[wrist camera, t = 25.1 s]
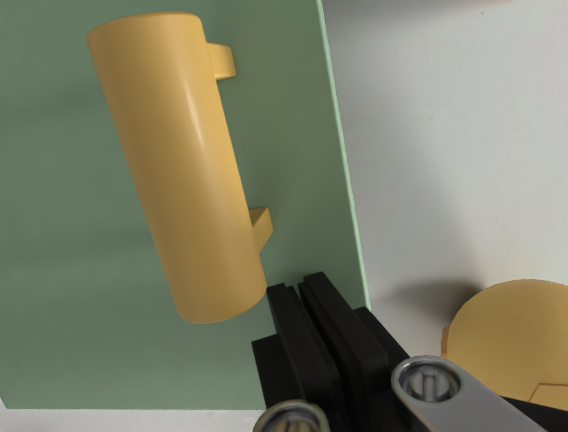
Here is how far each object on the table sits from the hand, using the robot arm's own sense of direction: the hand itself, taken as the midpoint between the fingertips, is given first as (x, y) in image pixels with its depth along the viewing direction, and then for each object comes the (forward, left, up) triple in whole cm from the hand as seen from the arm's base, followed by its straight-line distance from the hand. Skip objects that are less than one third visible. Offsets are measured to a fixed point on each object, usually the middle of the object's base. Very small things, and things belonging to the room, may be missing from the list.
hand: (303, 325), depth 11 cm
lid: (-7, 0, -3) cm, 8 cm away
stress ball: (+18, +3, -12) cm, 21 cm away
